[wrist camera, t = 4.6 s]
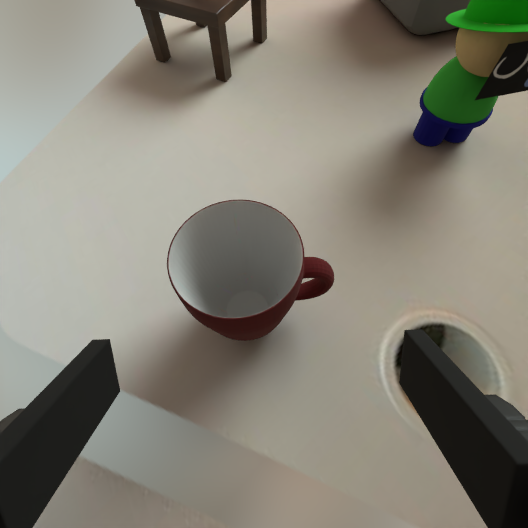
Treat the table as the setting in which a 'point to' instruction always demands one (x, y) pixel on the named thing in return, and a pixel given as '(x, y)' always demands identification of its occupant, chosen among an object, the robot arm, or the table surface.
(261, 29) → the chair
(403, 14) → the alarm clock
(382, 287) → the table surface
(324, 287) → the mug
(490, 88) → the toy
